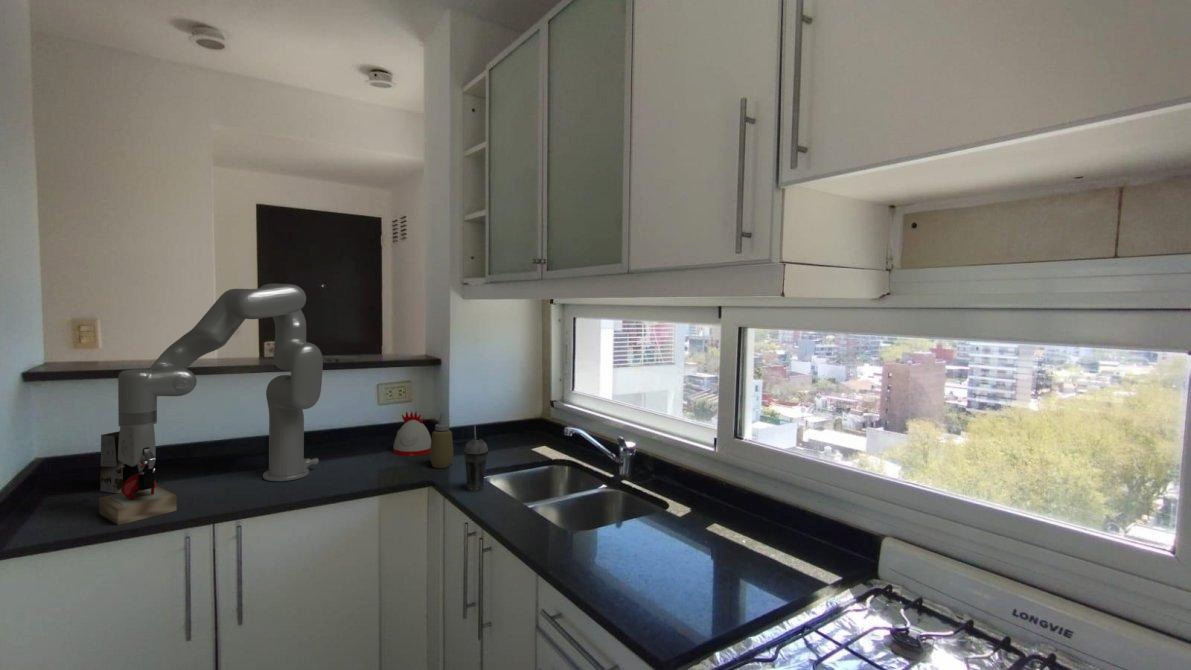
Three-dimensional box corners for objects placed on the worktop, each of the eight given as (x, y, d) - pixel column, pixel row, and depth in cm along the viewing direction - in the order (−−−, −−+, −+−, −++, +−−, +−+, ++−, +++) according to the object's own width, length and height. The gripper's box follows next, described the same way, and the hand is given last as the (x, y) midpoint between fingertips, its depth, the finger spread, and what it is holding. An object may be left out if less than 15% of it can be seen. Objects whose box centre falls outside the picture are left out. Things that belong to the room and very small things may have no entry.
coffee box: (118, 494, 153) (117, 436, 152) (99, 491, 154) (99, 434, 153) (150, 483, 162) (150, 429, 161) (133, 481, 163) (132, 427, 162)
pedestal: (156, 500, 149) (156, 485, 149) (176, 510, 143) (176, 494, 143) (99, 513, 139) (99, 497, 139) (117, 525, 133) (117, 508, 132)
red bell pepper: (164, 482, 142) (159, 466, 145) (138, 481, 137) (133, 464, 140) (145, 506, 142) (140, 489, 145) (118, 505, 137) (113, 488, 140)
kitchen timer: (398, 446, 214) (399, 407, 213) (435, 446, 215) (435, 408, 215) (389, 455, 200) (389, 414, 199) (428, 456, 202) (429, 415, 201)
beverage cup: (491, 487, 170) (493, 423, 169) (479, 495, 163) (481, 427, 162) (471, 484, 172) (472, 420, 171) (457, 491, 165) (459, 425, 164)
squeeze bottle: (423, 467, 187) (425, 415, 186) (439, 461, 195) (440, 411, 194) (443, 471, 184) (444, 417, 183) (458, 465, 192) (459, 413, 191)
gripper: (106, 415, 141) (106, 481, 142) (133, 425, 132) (133, 496, 133) (142, 411, 147) (142, 475, 148) (170, 421, 138) (170, 488, 139)
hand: (138, 485), depth 141 cm, fingers open, 9 cm apart
